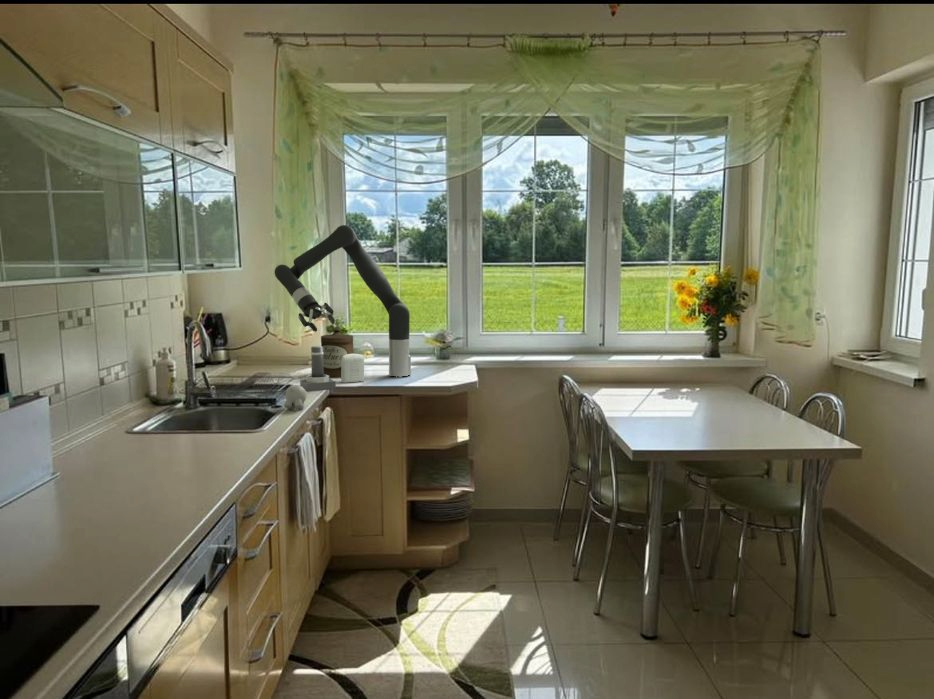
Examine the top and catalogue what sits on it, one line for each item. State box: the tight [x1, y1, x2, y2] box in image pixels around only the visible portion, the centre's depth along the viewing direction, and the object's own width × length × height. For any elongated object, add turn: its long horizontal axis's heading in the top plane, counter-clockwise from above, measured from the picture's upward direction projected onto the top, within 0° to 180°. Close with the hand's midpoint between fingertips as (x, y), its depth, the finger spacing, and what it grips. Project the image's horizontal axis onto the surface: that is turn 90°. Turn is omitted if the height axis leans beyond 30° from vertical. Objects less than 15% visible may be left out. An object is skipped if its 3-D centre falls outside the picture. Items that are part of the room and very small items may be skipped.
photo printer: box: [340, 353, 365, 384], centre depth 278 cm, size 10×4×12 cm, turn 123°
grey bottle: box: [310, 345, 324, 378], centre depth 262 cm, size 5×5×14 cm
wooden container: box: [320, 326, 355, 379], centre depth 294 cm, size 15×15×22 cm
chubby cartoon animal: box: [283, 384, 307, 411], centre depth 227 cm, size 7×12×8 cm, turn 176°
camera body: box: [299, 374, 337, 392], centre depth 263 cm, size 12×9×5 cm
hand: (325, 326), depth 271 cm, fingers open, 8 cm apart
